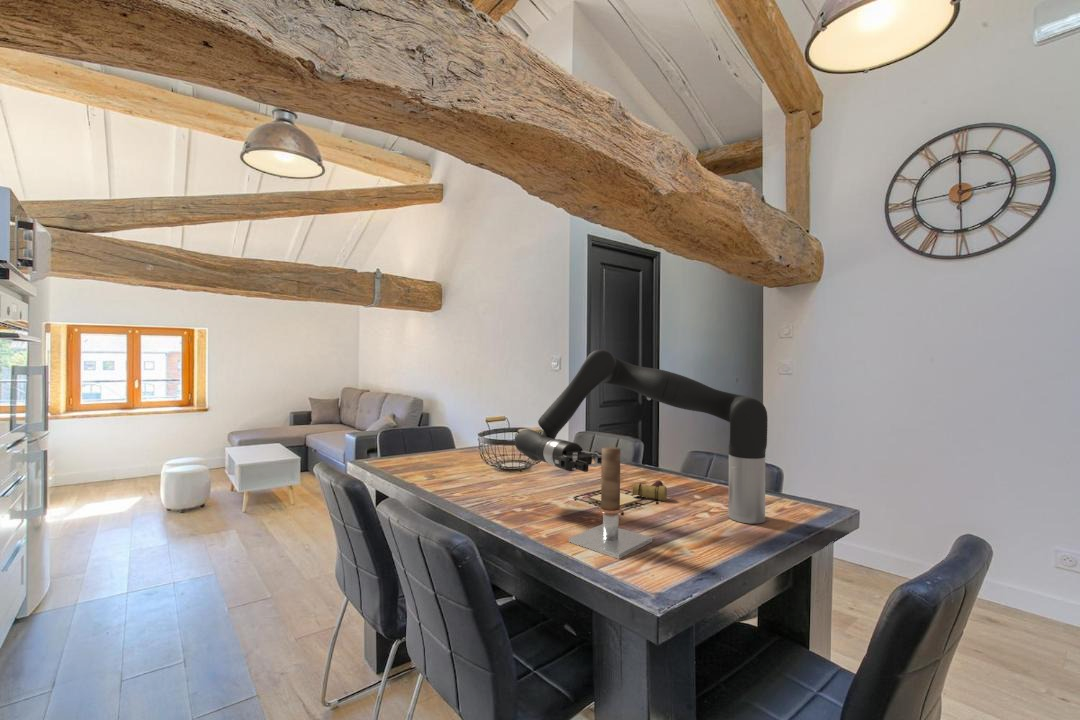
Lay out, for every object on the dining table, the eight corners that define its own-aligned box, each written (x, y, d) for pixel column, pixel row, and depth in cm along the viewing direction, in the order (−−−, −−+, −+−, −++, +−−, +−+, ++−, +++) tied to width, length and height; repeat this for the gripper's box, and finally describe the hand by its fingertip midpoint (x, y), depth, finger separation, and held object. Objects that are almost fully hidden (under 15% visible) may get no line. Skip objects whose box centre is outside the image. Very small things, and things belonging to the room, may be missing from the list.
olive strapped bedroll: (646, 474, 170) (675, 477, 166) (646, 487, 170) (675, 491, 166) (632, 484, 151) (664, 487, 147) (631, 498, 151) (664, 503, 147)
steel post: (603, 527, 124) (603, 496, 124) (652, 541, 114) (652, 507, 114) (568, 542, 114) (569, 508, 114) (618, 558, 104) (619, 521, 104)
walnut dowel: (608, 503, 117) (608, 446, 117) (623, 507, 114) (624, 448, 114) (597, 507, 114) (597, 448, 114) (612, 512, 111) (613, 451, 111)
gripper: (541, 442, 127) (577, 452, 113) (584, 438, 134) (623, 447, 121) (540, 471, 127) (577, 484, 113) (583, 465, 134) (623, 477, 121)
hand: (601, 465), depth 117 cm, fingers open, 8 cm apart
